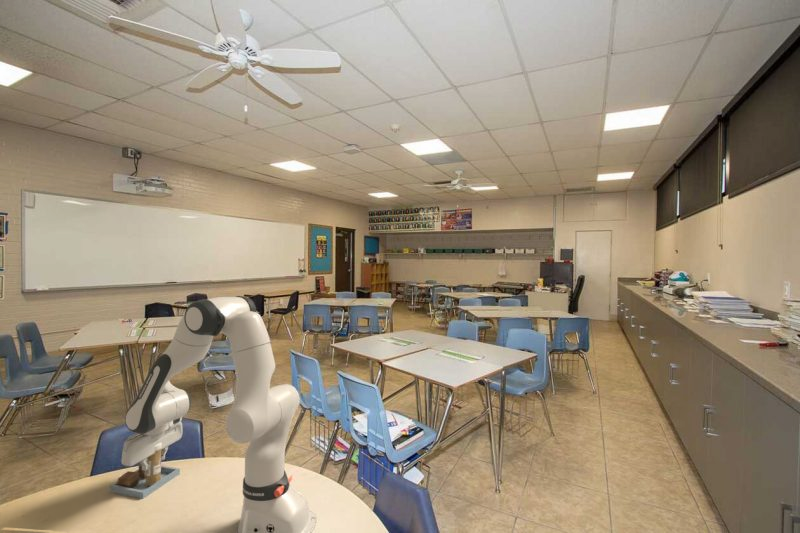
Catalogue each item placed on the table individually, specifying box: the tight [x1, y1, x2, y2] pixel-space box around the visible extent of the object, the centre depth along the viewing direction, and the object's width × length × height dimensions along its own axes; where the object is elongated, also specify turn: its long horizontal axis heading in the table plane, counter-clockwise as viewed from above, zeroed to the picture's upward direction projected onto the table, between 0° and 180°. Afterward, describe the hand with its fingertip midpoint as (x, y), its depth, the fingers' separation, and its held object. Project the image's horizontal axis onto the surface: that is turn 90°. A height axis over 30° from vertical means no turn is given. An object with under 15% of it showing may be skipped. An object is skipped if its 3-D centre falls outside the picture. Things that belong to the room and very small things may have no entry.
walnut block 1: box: [117, 470, 139, 488], centre depth 119 cm, size 4×4×4 cm
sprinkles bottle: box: [145, 443, 162, 485], centre depth 121 cm, size 5×5×13 cm
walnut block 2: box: [138, 463, 146, 480], centre depth 125 cm, size 4×4×4 cm
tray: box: [109, 464, 181, 499], centre depth 121 cm, size 14×14×2 cm
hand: (153, 464), depth 121 cm, fingers closed on sprinkles bottle, 4 cm apart
